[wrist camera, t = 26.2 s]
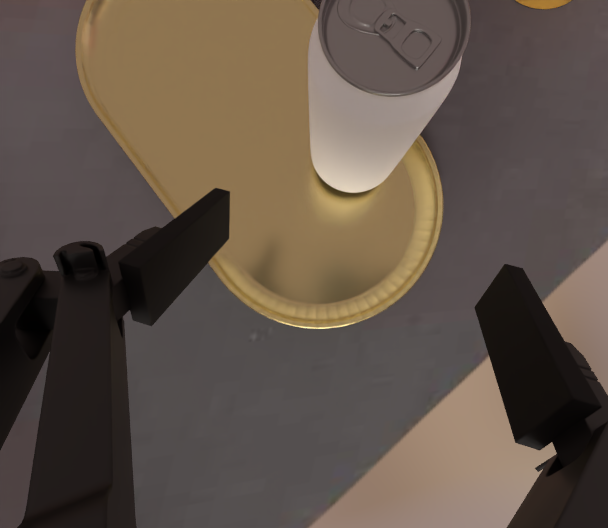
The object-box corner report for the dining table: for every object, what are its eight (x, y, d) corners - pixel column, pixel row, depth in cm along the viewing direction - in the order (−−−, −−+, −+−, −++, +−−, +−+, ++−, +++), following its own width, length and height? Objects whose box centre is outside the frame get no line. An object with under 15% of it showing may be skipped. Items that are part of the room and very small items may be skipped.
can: (346, 94, 24) (379, -97, 12) (413, 145, 23) (520, 4, 11) (292, 159, 23) (270, 36, 11) (359, 212, 23) (408, 142, 11)
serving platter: (220, -94, 26) (214, -118, 25) (484, 228, 24) (496, 225, 23) (46, 41, 26) (29, 25, 25) (296, 373, 24) (295, 380, 23)
